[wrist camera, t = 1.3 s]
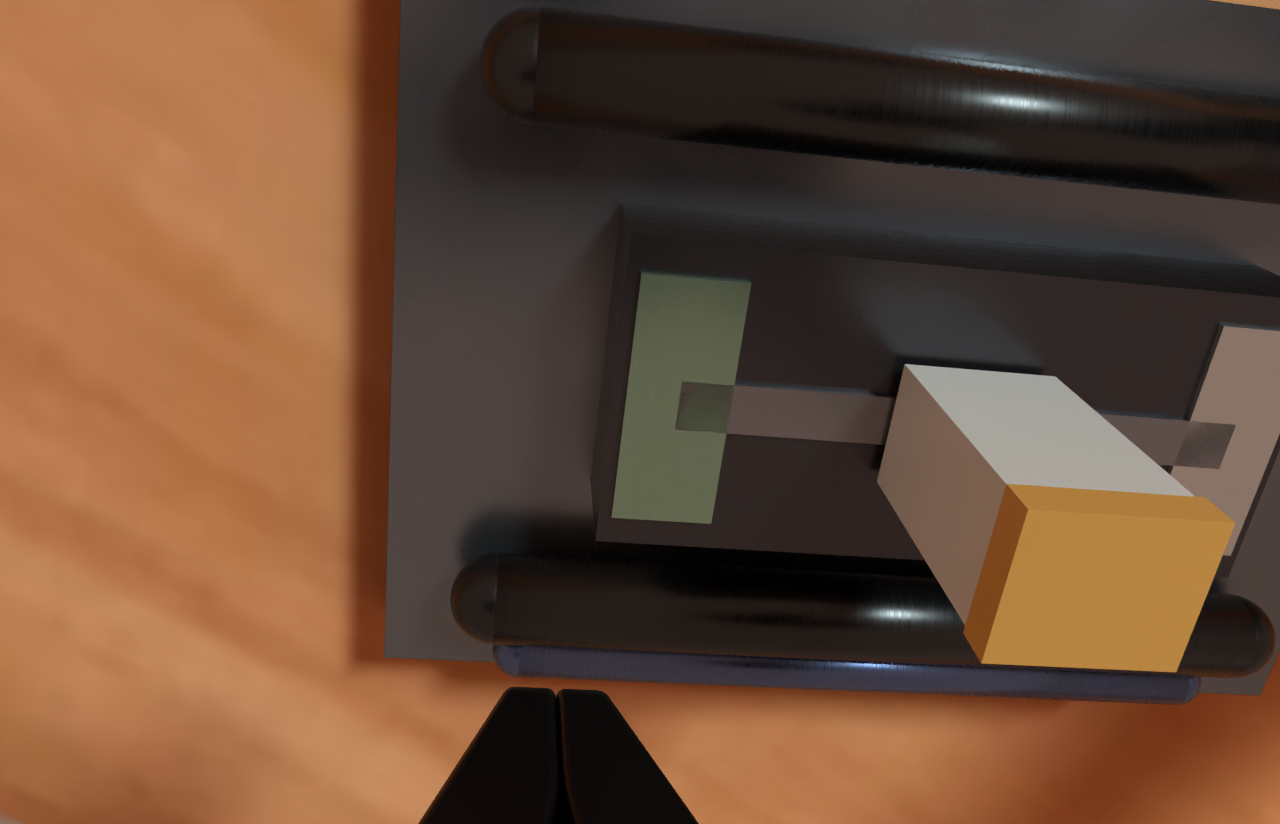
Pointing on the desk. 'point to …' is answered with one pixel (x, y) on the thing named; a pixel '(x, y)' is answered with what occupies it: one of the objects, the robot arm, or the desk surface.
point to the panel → (552, 243)
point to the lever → (1047, 522)
